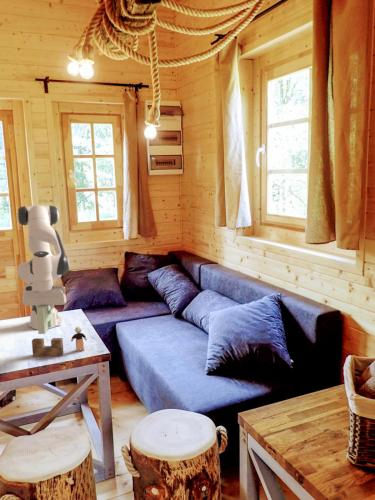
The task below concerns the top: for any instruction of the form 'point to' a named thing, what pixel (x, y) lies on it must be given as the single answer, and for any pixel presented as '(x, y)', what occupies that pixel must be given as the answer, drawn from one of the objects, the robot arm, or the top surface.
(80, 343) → the grandmother figurine
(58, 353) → the wooden u-shaped block
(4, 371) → the top surface
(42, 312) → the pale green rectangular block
